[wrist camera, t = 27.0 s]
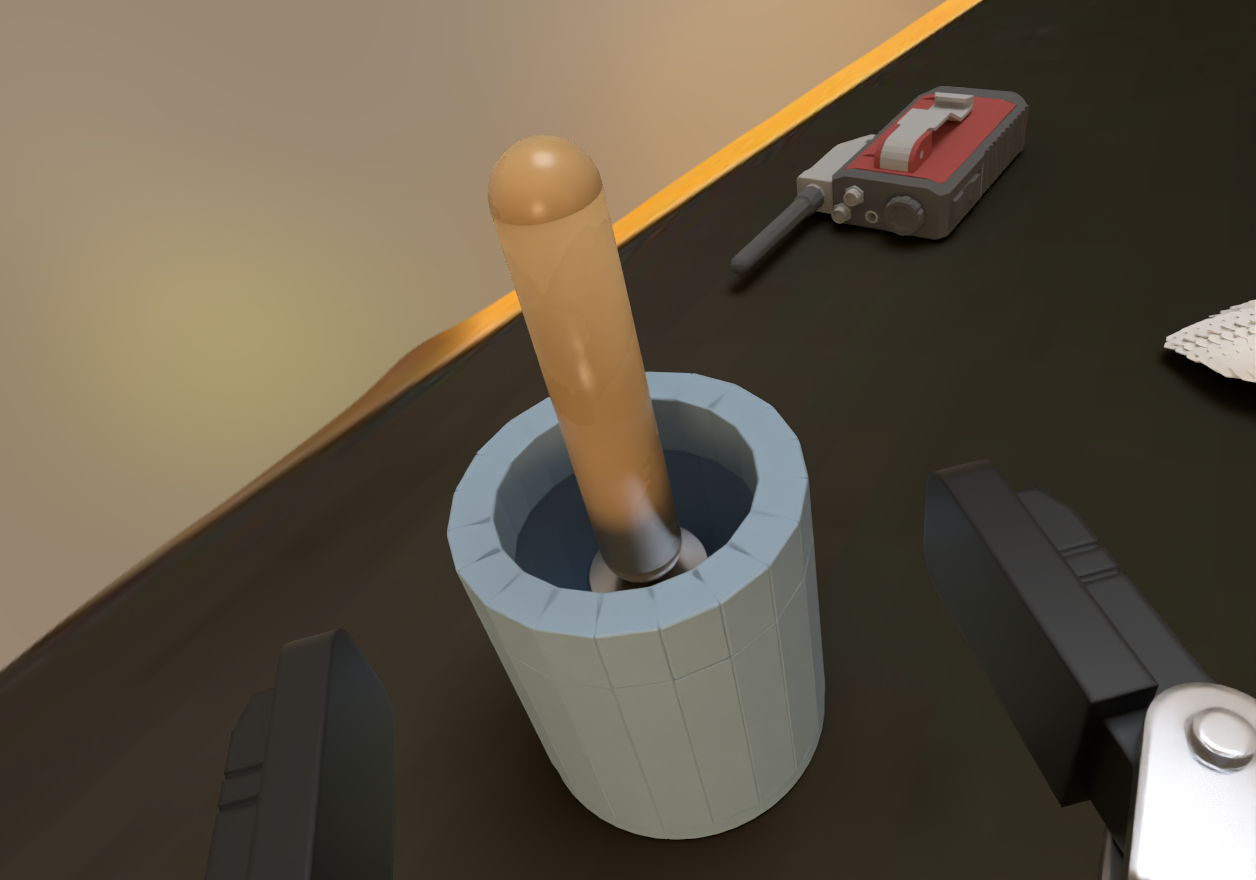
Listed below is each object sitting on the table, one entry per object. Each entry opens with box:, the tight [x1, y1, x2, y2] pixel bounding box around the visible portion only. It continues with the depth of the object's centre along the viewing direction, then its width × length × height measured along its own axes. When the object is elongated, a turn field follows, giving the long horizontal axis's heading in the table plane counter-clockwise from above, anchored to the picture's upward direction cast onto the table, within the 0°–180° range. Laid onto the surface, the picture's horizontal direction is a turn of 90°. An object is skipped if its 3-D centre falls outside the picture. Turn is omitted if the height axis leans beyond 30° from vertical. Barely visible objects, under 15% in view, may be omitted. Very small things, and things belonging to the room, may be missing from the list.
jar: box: [447, 372, 825, 840], centre depth 25 cm, size 9×9×10 cm
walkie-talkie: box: [730, 86, 1029, 275], centre depth 47 cm, size 9×4×20 cm
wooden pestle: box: [488, 135, 709, 593], centre depth 22 cm, size 5×5×18 cm
